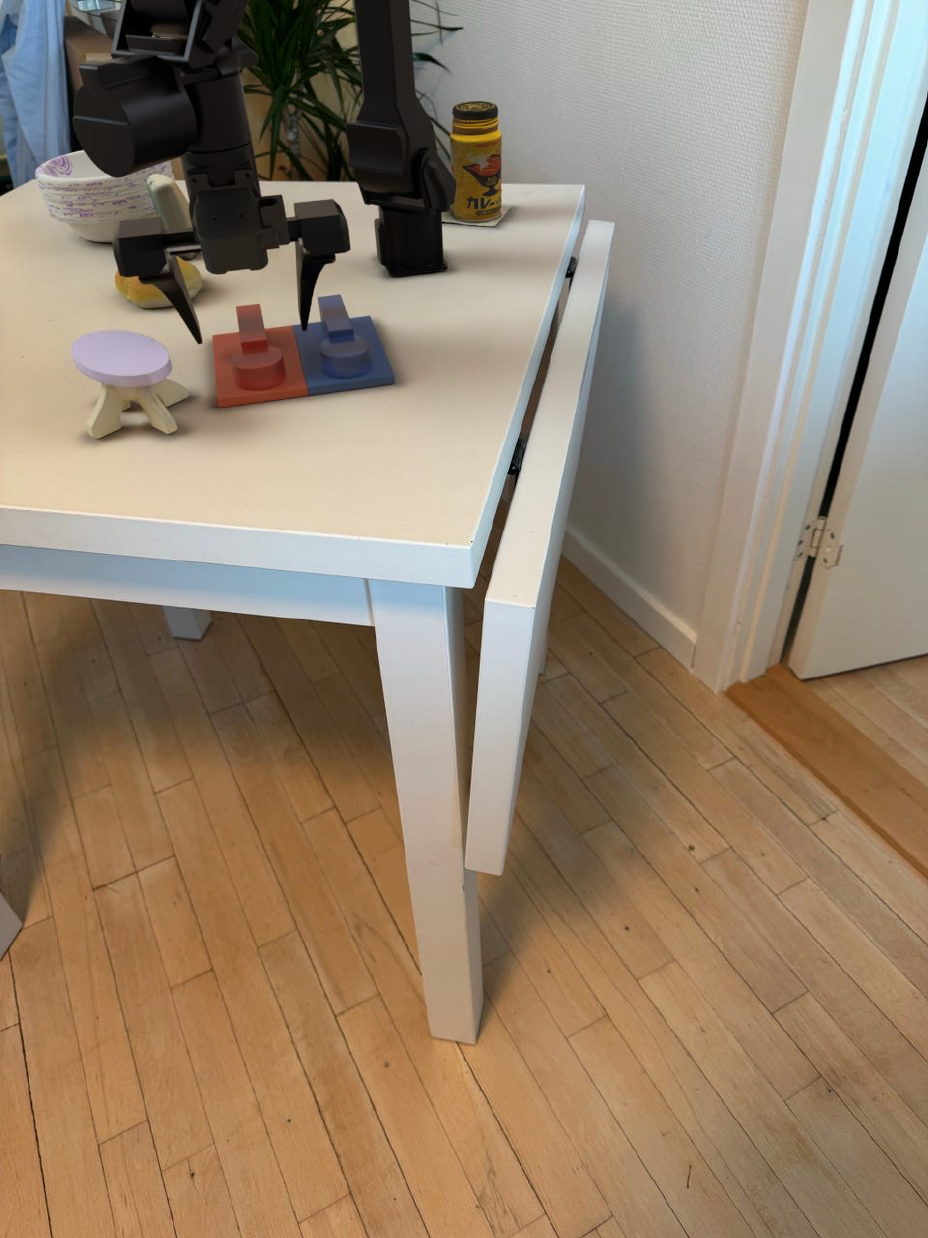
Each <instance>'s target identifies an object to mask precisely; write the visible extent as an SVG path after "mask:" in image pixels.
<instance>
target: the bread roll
mask: <svg viewBox="0 0 928 1238" xmlns="http://www.w3.org/2000/svg"><path fill="white" fill-rule="evenodd" d="M176 257H177V260H178V263H179V266H180V269H181V272H182V275H183V278H184V281H185V283H186V286H187V289H188V292H189V295H190V298H191V299H193V298H194V297H195V296H197V294H198V293H199V292H200V290H201V289H202V288H203V280H202V279H203V278H202V274H201V271H200V270H199V268H198V267H197V266H196V265H194V264H193V263H192V262H188V261H185V259H184V260H182V259H181V258H180V257H178V256H176ZM114 285H115V288H116V290H117V291H118V292H119V294H120V295H121V296H123V298H125V299H127V300H128V301H130V302H131V303H132V304H133V305H135V306H136V307H139V308H142V309H155V308H157V309H158V308H169V307H174V306H173V305H172V303H171V302H170V301H169V300H168V298H167V297H166V296H165V295H164V294H163V293H162V292H161V291H160V290H159V289H158V288H156V287H155V286H154V285H151V284H149V285H143V284H141V283H140V282H139V280H138V276H135V277H123V276H120V274H119V271H118V269H117V270H116V272H115V274H114Z"/></svg>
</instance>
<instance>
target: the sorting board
mask: <svg viewBox="0 0 928 1238" xmlns="http://www.w3.org/2000/svg"><path fill="white" fill-rule="evenodd" d="M349 319H350V321H351V324H352V327H353V331H354V335H358V336H362V337H364V338H366V339H367V340H368V341H369V342H370V347H371V356H372V368H371V370H370V371H369V372H367V373H366V374H364V375H362V376H359V377H355V378H348V379H338V378H333V377H329V376H327V375H325V374H324V373H323V371H322V367H321V360H320V353H319V345H320V344H321V343H322V342H323V341H324V340H326V338H325V335H324V331H323V328H322V325H321V321H315V322H314V321H313V322H308V326H307V330H306V331H302V328H301V323H299V324H291V325H284V326H275V327H268V328H266V327H265V334H266V339H267V344H268V346H272V347H276V348H278V349H280V350H281V352H282V353H283V359H284V364H285V370H286V379H285V380H284V382H282V383H281V384H280V385H278V386H276V387H273V388H270V389H266V390H257V391H253V390H245V389H242V388H240V387H238V386H237V385H236V384H235V381H234V377H233V372H232V367H231V363H230V358H231V356H232V355H233V354H234V353H235V352H237V351H239V350H241V349H242V347H241V342H240V334H239V331H235V332H227V333H219V334H213V335H211V336H212V337H211V338H212V339H211V340H212V351H213V353H212V354H213V364H214V366H213V367H214V378H215V379H214V381H215V392H216V402H217V406H218V408H219V409H220V408H227V407H233V406H240V405H249V404H257V403H263V402H271V401H277V400H284V399H291V398H292V399H293V398H299V397H300V398H301V397H306V396H315V395H321V394H329V393H336V392H343V391H350V390H351V391H352V390H358V389H365V388H372V387H380V386H385V385H386V386H387V385H394V384H396V377H395V373H394V370H393V368H392V366H391V363H390V361H389V358H388V356H387V353H386V351H385V349H384V346H383V343H382V341H381V339H380V337H379V334H378V331H377V329H376V327H375V324H374V321H373V319H372V317H371V315H363V316H355V317H349Z"/></svg>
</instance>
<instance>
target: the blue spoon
mask: <svg viewBox="0 0 928 1238" xmlns="http://www.w3.org/2000/svg"><path fill="white" fill-rule="evenodd" d="M317 304H318V312H319V320H320V322H321V325H322V328H323V331H324V335H325V338H326V340H324V341H323V342H322V343H321V344H320V345H319V353H320V360H321V367H322V371H323V373H324V374H325V375H327V376H329V377H333V378H338V379H348V378H355V377H359V376H362V375H364V374H366V373H367V372H369V371H370V370H371V368H372V356H371V347H370V342H369V341H368V340H367V339H366V338H364V337H362V336H358V335H354V331H353V327H352V324H351V321H350V319H349V318H350V316H349V314H348V313H349V312H348V311H347V308H346V305H345V303H344V299H343V297H342V295H341V294H340V293H339V294H331V295H321V296H317Z"/></svg>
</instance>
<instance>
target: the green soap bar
mask: <svg viewBox="0 0 928 1238" xmlns="http://www.w3.org/2000/svg"><path fill="white" fill-rule="evenodd" d="M147 189H148V192H149V195H150V198H151V200H152V202H153V205H154V208H155V211H156V214H157V216H158V217H162V219H163V222H164V225H165V229H166V230H172V229H181V228H191V227H192V223H191V219H190V214H189V200H188V199H187V198H186V196H185V194H184V193H183V190H182V189H181V188H180V187H179V185H178V184H177V182H176V180H175V181H174V180H173V179H171V178H170V177H167V176H164V175H160V174H154V175H151V176H150V177H149V178H148V179H147ZM196 254H197V253H188V254H179V255H176V256H178V257H180V258H181V259H182V260H184V261H185V260H189V259H192V258H194V257H195V255H196Z"/></svg>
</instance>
